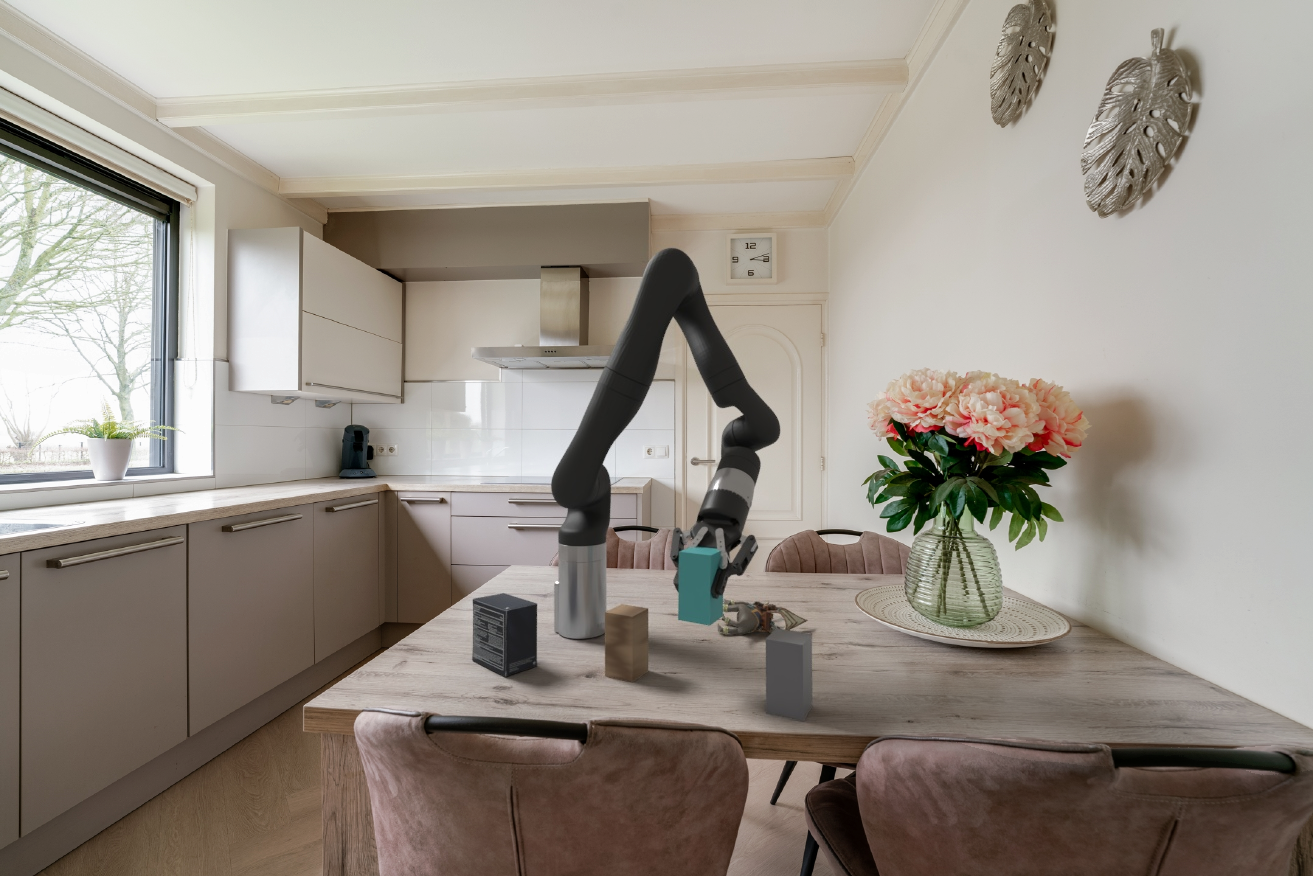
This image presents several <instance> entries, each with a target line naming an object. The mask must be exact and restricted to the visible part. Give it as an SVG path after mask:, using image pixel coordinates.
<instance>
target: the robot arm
mask: <svg viewBox="0 0 1313 876" xmlns="http://www.w3.org/2000/svg"><path fill="white" fill-rule="evenodd" d="M703 291H704V290H703V288H702V284H701V281H700V274H699V271H698V269H697V267H696V265H695V264H694V261H693V260H692V259H691V258H690V256H689V255H688V254H687V253H686V252H685V251H683V250H681V249H679V248H676V247H667V248H663V249H661V250H659V251H658V252H656V253H655V254H654V255H653V256H652V257H651V258H650V260H648V262H647V263H646V267H645V269H644V272H643V275H642V277H641V281H640V284H639V287H638V290H637V293H636V296H635V300H634V302H633V305H632V308H631V310H630V313H629V316H628V318H627V321H626V322H625V325H624V327H623V328H622V329H621V330H622V331H621V332H620V334H619V336H618V337H617V341H616V343H615V344H614V347H613V349H612V351H611V354H610V355H609V357H608V360H607V362H606V363H605V366H604V368H603V370H602V372H601V374H600V376H599V379H598V381H597V384H596V386H595V389H594V392H593V394H592V397H591V398H590V401H589V402H588V406H587V407H586V409H585V412H584V414H583V416H582V419H581V421H580V424H579V426H578V428H577V430H576V432H575V435H574V436H573V438H572V440H571V441H570V443H569V445H568V447H567V449H566V450H565V452H564V454H563V455H562V457H561V458H560V460H559V462H558V463H557V466H556V468H555V470H554V471H553V474H552V477H551V485H550V489H551V493H552V494H551V495H552V497H553V499H554V501H555V502H556V503H557V504H558V505H559V506H561V507H562V508H564V509H567V513H566V517H565V519H564V522H563V523H562V524H561V525H560V527H559V529H558V532H557V533H558V534H557V538H558V539H557V540H558V541H557V542H558V543H557V546H558V548H557V550H558V551H557V552H558V553H557V554H558V563H557V564H558V566H557V567H558V568H557V569H558V578H557V579H558V580H557V581H555V582H554V585H553V586H554V587H553V592H554V593H553V600H554V601H553V622H554V624H553V627H554V630H553V631H554V632H555V633H558V634H559V635H560V636H562V637H564V638H568V639H575V640H576V639H578V640H579V639H591V638H596V637H599V636H602V635H603V634H604V635H605V612H606V611H608V610H607V605H608V604H607V603H608V602H607V534H608V530H609V527H610V522H611V504H612V501H611V500H612V482H611V477H610V473H609V471H608V469H607V467H606V466H605V465H604V462H605V460H606V457H607V456H608V453H609V451H610V449H611V447H612V446H613V444H614V443H615V441H616V440H617V439H618V437H620V435H621V434H622V433H623V432H624V431H625V429H626V428H627V427H628V426H629V424H630V423H631V422H632V421H633V419H635V417H636V415H637V414H638V412H639V411H640V409H641V407H642V405H643V404H644V401H645V399H646V397H647V395H648V392H649V390H650V388H651V386H652V384H653V381H654V378H655V376H656V372H657V369H658V365H659V361H660V356H661V350H662V346H663V343H664V338H665V335H666V332H667V330H668V327H669V326H670V324H671V321H672V320H673V319H674V320H675V322H676V323H677V325H678V327H679V328H680V330H681V332H682V333H683V335H684V338H685V340H686V342H687V344H688V347H689V349H690V352H691V355H692V357H693V360H694V363H695V366H696V367H697V369H698V371H699V375H700V377H701V378H702V381H703V383H704V384H705V387H706V389H707V390H708V392H709V394H710V395H711V396H710V397H711V398H712V400H713V402H714V404H715V405H716V406H717V407H718V408H719V409H726V408H730V407H735V408H736V409H737V410H738V411H739V412H740V413H741V414H742V415H740V416H738V417H736V418H735V419H732V420H731V421H729V422H728V424H727V425H726V426H725V428H724V429H723V430H722V434H721V441H720V442H721V444H720V446H721V447H720V460H719V462H718V465H717V468H716V471H715V473H714V475H713V477H712V478H711V480H710V482H709V485H708V487H707V490H706V492H705V495H704V498H703V500H702V503H701V505H700V508H699V511H698V514H697V518H696V521H695V524H694V525H693V526H692V527H691V528H690V529H685V530H682V529H681V528H680V527H675V528H674V529H673V531H672V537H671V538H672V539H671V540H672V541H671V547H670V553H669V557H670V560H671V561H672V563H673V566H675V568H677V570H676V573H675V575H674V578H673V585H674V588H675V591H677V594H679V551H682V550H685V546H687V547H686V549H687V548H690V547H694V548H695V547H706V548H715V549H717V550H721V558H720V561H719V567H720V568H719V569H717V571H716V574H715V577H714V580H713V583H712V586H711V589H710V593H711V595H712V597H713V598H715V599H718V598H719V595H721V596H722V594H723V595H724V593H725V589H726V586H727V585H728V584H727V583H728V580H729V578H730V577H731V576H734V575H735V576H738V577H741V576H743V575H744V573H745V571H747V570H746V569H747V568H748V566H749V564H750V563H751V562H752V560H753V558H754V556H755V554H756V552H757V551H758V549H759V545H758V542H757V539H756V536H755V535H753V534H749V535H748V536H747V535H744V534H743V532H744V530H745V529H744V528H745V525H746V522H747V519H748V515H749V513H750V509H751V508H752V504H753V500H754V493H755V487H756V484H757V481H758V478H759V474H760V473H761V472H760V471H761V465H762V463H761V458H760V457H759V455H758V453H757V452H758V451H760V450H763V449H764V448H765V449H766V448H767V447H770V446H771V445H773V444H775V443H776V442H777V441H778V440H779V439H780V436H781V423H780V421H779V418H778V416H777V415H776V413H775V412H774V410H773V409H772V408H771V407H770V406H769V405H768V404H767V403H766V402H765V401H764V399H763V398H761V396H760V395H759V394H758V393H757V392H756V390H755V389H754V388H753V387H752V386H751V384H750V383H749V381H748V380H747V378H746V375H745V373H744V372H743V370H742V367H741V366H740V365H739V362H738V360H737V358H736V356H735V355H734V353H733V351H732V350H731V348H730V346H729V345H728V343H727V341H726V339H725V337H724V336H723V334H722V333H721V331H720V329H719V327H718V326H717V323H716V322H715V320H714V317H713V316H712V313H711V311H710V309H709V305H708V303H707V301H706V298H705V295H704V292H703ZM690 539H692V540H691V542H690V543H688V542H689V540H690ZM687 544H688V545H687ZM739 545H740V548H739V550H738V552H737V554H736V555H735V557H734V558H733V559H732V560H731V553H730V552H732V551H733V550H735V549H736V548H737V547H739Z"/></svg>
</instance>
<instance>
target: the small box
mask: <svg viewBox="0 0 1313 876" xmlns="http://www.w3.org/2000/svg"><path fill="white" fill-rule="evenodd" d="M472 620H473V621H472V657H471V660H472V662H474V663H476V664H478V665H481V666H483V667H484V668H487V669H489V670H490V671H493V672H494V673H496V674H498V675H501V676H503V677H505V678H506V677H509V676H512V675H515V674H517V673H521V672H524V671H528V670H530V669H533V668H535V667H537V666H538V603H537V602H534V601H530V600H527V599H523V598H521V597H518V596H515V595H511V594H507V593H504V592H503V593H496V594H491V595H487V596H480V597H475V598H473V599H472Z"/></svg>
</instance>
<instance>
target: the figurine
mask: <svg viewBox="0 0 1313 876" xmlns="http://www.w3.org/2000/svg"><path fill="white" fill-rule="evenodd" d="M725 613H736V620H732V619H731V618H730V617H729V616H727V617H726V616H725ZM775 614H779V615H780V616H782V618H783V619H781V618H780V621H784V622H785V625H784V626H783V627H782V629H784V630H792V629H794V628H797V627H799V626H801V625H802V624H804V623H806V622H808V621H809V620H808V619H806V618H803V617H801V616H800V615H798V614H795V613H794V612H792V611H790V610H789V609H787V608H785V607H782V606H777V605H776V604H770V600H767V601H766V602H765V603H762V602H761V601H759V600H757V601H754V602H753V603H751V602H750V603H749V602H747V601H735V600H734V599H731V600H728V599H726V598H723V617H721V618H720V620H721V621H723V622H724V623H725V624H726V625H725V626H723V627H722V626H721V625H720V624H719V623H718V622H717V632H719V633H722V635H724V636H726V635H729V634H730V635H737V636H742V635H747V634H748V633H749V634H751V633H753V632H762V633H765V632H768V633H770V634H771V633H772V632H773V631H774V630H775V629H776V628H778V629H781V627H779V626H776V623H775V622H774V621H772V619H773V620H774V619H775V617H774V616H775ZM727 625H730V626H732V627H734V628H729V627H728V626H727Z"/></svg>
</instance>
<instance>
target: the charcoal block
mask: <svg viewBox="0 0 1313 876" xmlns="http://www.w3.org/2000/svg"><path fill="white" fill-rule="evenodd" d="M775 628H776V629H775ZM775 628H774V629H775V630H774V631H773V632H772V633H771V632H770V634H769V635H768V636H766V638H765V703H766V704H765V713H766V715H767V714H768V715H772V716H776V717H781V718H785V719H789V720H793V721H798V722H804V721H805V720H806V718H807V717H808V714H809V713H810V711H811V710H812V708H813V633H809V632H803V631H796V630H792V629H790V630H784V629H783V628H780V629H778V628H777V627H775Z"/></svg>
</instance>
